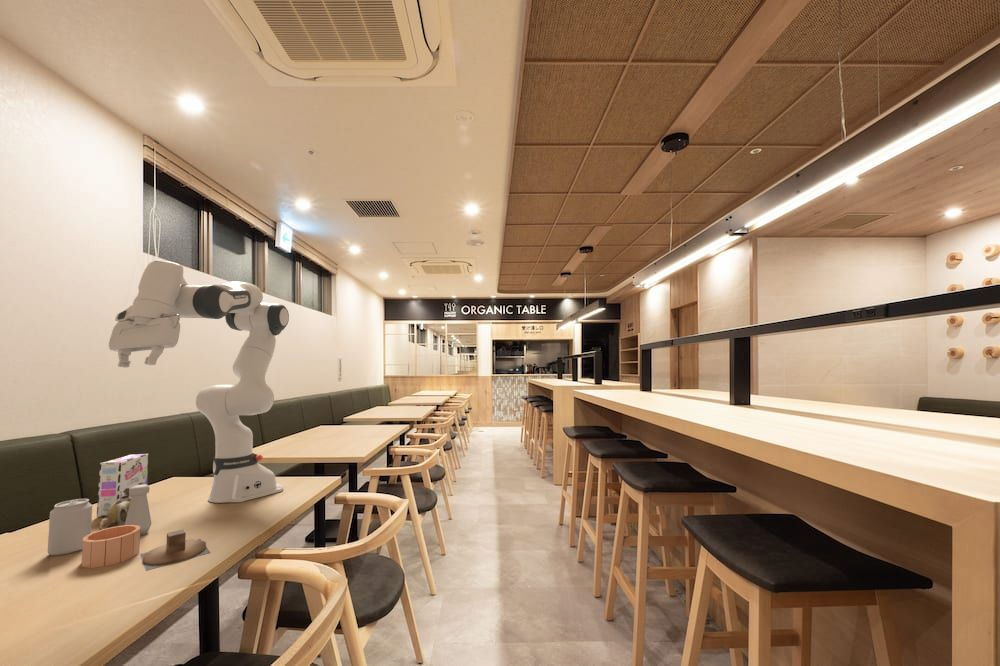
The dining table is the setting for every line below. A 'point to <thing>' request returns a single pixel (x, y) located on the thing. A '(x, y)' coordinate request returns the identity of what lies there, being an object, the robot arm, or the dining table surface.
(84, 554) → the bowl
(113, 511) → the ceramic sculpture
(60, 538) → the can
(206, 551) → the mat
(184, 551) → the lid
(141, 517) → the salt shaker
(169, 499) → the dining table surface
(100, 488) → the candy box
